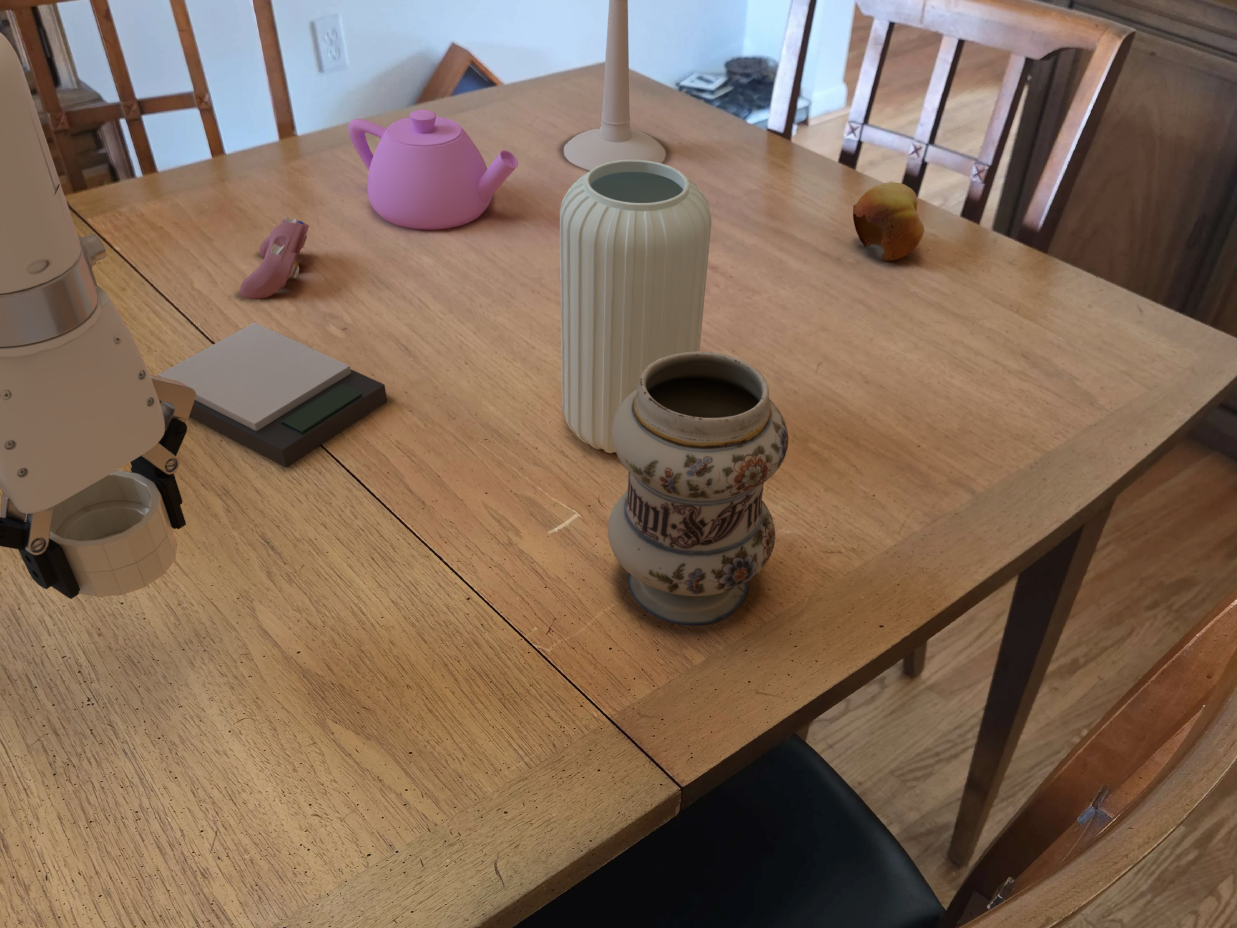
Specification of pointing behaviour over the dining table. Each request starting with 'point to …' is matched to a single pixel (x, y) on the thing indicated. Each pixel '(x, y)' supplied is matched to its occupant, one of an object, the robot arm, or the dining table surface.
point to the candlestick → (614, 107)
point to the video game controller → (276, 260)
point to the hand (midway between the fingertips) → (114, 550)
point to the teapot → (428, 171)
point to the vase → (627, 284)
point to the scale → (275, 393)
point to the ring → (115, 534)
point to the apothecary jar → (695, 485)
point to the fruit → (889, 219)
